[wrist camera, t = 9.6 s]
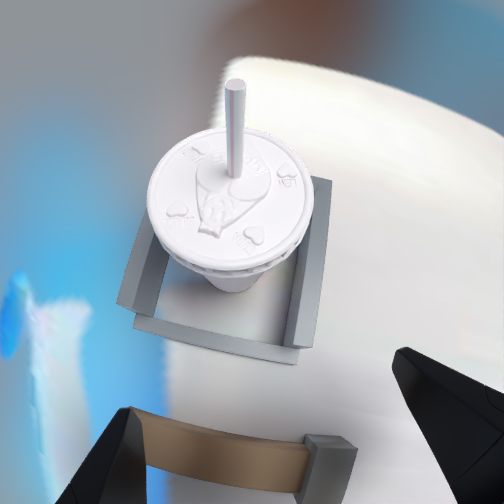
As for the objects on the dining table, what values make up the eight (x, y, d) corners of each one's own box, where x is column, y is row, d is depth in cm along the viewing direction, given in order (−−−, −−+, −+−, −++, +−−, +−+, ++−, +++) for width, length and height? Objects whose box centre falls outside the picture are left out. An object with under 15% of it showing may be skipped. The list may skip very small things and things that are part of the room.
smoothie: (292, 238, 21) (362, 69, 8) (264, 327, 19) (329, 252, 5) (206, 210, 21) (176, 30, 8) (170, 293, 19) (57, 167, 6)
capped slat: (340, 436, 16) (357, 448, 13) (325, 490, 15) (338, 510, 12) (132, 396, 16) (112, 402, 14) (123, 452, 15) (104, 466, 12)
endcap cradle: (294, 364, 18) (308, 366, 14) (135, 328, 18) (111, 321, 14) (317, 210, 21) (332, 180, 18) (179, 184, 22) (169, 151, 18)
